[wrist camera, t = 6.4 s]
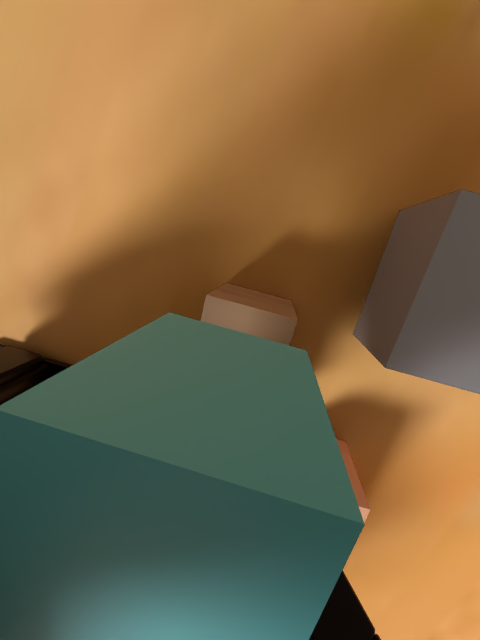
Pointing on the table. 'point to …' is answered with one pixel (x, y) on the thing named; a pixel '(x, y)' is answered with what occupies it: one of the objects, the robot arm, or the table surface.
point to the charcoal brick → (429, 294)
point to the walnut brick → (251, 313)
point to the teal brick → (173, 493)
